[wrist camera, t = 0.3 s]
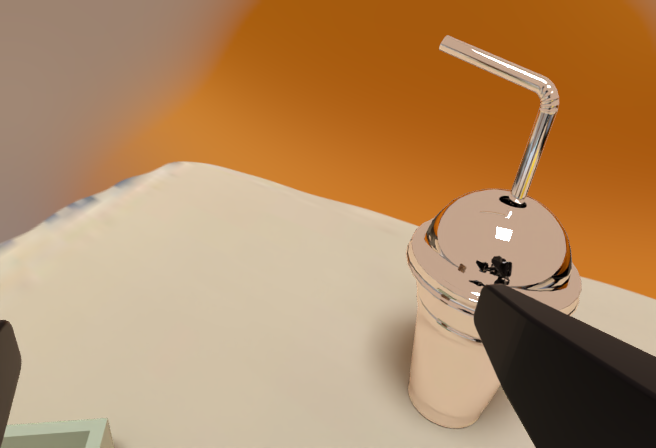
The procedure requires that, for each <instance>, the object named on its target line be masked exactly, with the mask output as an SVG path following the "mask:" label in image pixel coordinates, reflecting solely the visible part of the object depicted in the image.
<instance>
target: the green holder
mask: <svg viewBox="0 0 656 448" xmlns="http://www.w3.org/2000/svg"><path fill="white" fill-rule="evenodd" d="M1 448H114V444H113V439H112V435H111V431H110V426H109V422H108V418H100V419H86V420H72V421H58V422H44V423H30V424H16V425H7V426H6V430H5V434H4V438H3V442H2V445H1Z"/></svg>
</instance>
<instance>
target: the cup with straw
mask: <svg viewBox="0 0 656 448" xmlns="http://www.w3.org/2000/svg"><path fill="white" fill-rule="evenodd" d="M439 49H440V50H441V51H443V52H446V53H448V54H450V55H452V56H455V57H457V58H459V59H461V60H464V61H466V62H468V63H471V64H473V65H475V66H477V67H479V68H482V69H484V70H486V71H489V72H491V73H493V74H495V75H498V76H500V77H502V78H504V79H507V80H509V81H511V82H514V83H516V84H518V85H520V86H523V87H525V88H527V89H529V90H532V91H534V92H536V93H537V94H538V95H539V97H540V100H541V102H540V103H541V105H540V108H539V112H538V115H537V117H536V120H535V123H534V126H533V129H532V132H531V135H530V138H529V140H528V143H527V146H526V149H525V152H524V155H523V158H522V161H521V164H520V166H519V169H518V172H517V175H516V178H515V181H514V184H513V187H512V190H506V189H482V190H478V191H474V192H469V193H466V194H464V195H462V196H460V197H458V198H456V199H454V200H452V201H451V202H450V203H449V204H448V205H447V206H446V207H445V208H444V209H442V210H441V211H440V212H439V214H438V215H437V216H436V217H435V218H434V219H431V220H429V221H427V222H425V223H423V224H422V225H421V226H420V227H418V228H417V229H416V231H415V232H414V234H413V236H412V239H411V240H410V242H409V244H408V245H407V250H406V258H407V264H408V267H409V269H410V271H411V273H412V275H413V276H414V278H415V279H416V285H417V296H416V297H417V302H418V309H417V317H416V325H415V333H414V342H413V350H412V358H411V367H410V381H409V384H408V393H409V397H410V399H411V402H412V403H413V405H414V407H415V408H416V409H417V410H418V411H419V413H421V414H422V415H423V416H424V417H425V418H427V419H428V420H430V421H431V422H433V423H436V424H438V425H440V426H444V427H447V428H464V427H467V426H470V425H471V424H473V423H475V422H476V421H477V420H478V419H479V417H480V415H481V412H482V411H483V410H484V409H485V408H486V406H487V405H488V403H489V402H490V400H491V399H492V397H493V396H494V394H495V393H496V391H497V390H498V388H499V387H500V385H501V384H500V382H499V380H498V378H497V376H496V373H495V371H494V369H493V366H492V364H491V362H490V360H489V357H488V355H487V353H486V350H485V348H484V346H483V344H482V341H481V339H480V337H479V335H478V332H477V330H476V328H475V325H474V312H475V309H476V305H477V302H478V298H479V295H480V292H481V289H482V288H483V287H484V286H485V285H488V284H504V285H506V286H509V287H511V288H513V289H515V290H517V291H519V292H521V293H523V294H525V295H527V296H529V297H532V298H534V299H536V300H538V301H540V302H542V303H544V304H546V305H548V306H550V307H552V308H554V309H557V310H559V311H561V312H563V313H565V314H567V315H569V316H571V315H572V314H573V313H574V312H575V311H576V309H577V307H578V304H579V295H580V293H581V290H582V288H581V279H580V276H579V274H578V271H577V269H576V267H575V266H574V264H573V263H572V258H571V249H570V244H569V239H568V236H567V234H566V232H565V230H564V228H563V226H562V224H561V223H560V221H559V220H558V219H557V218H556V216H555V215H554V214H553V213H552V212H551V211H550V210H549V209H548V208H546V207H545V206H544V205H543V204H541V203H540V202H538V201H536V200H534V199H533V198H531V197H529V196H527V192H528V189H529V187H530V184H531V181H532V179H533V176H534V173H535V170H536V167H537V165H538V162H539V159H540V156H541V154H542V151H543V149H544V146H545V143H546V140H547V138H548V135H549V132H550V129H551V127H552V124H553V121H554V119H555V116H556V113H557V111H558V106H559V96H558V92H557V89H556V87H555V85H554V84H553V83H552V82H551V81H550V79H548V78H547V77H545V76H542V75H540V74H537V73H535V72H533V71H531V70H528V69H526V68H523V67H521V66H519V65H517V64H514V63H512V62H509V61H507V60H505V59H502V58H500V57H498V56H495V55H493V54H491V53H488V52H486V51H484V50H481V49H479V48H476V47H474V46H472V45H469V44H467V43H465V42H462V41H460V40H458V39H455V38H453V37H451V36H448V35H447V36H446V37H445V38H444V39H443V41H442V42H441V45H440V48H439Z"/></svg>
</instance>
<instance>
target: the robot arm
mask: <svg viewBox="0 0 656 448" xmlns="http://www.w3.org/2000/svg"><path fill="white" fill-rule="evenodd" d="M474 325H475V328H476V330H477V332H478V335H479V337H480V339H481V341H482V344H483V346H484V348H485V350H486V353H487V355H488V357H489V360H490V362H491V364H492V366H493V369H494V371H495V373H496V376H497V378H498V380H499V382H500V384H501V386H502V388H503V390H504V392H505V394H506V396H507V398H508V399H509V401H510V403H511V405H512V406H513V408H514V410H515V412H516V414H517V415H518V417H519V419H520V421H521V422H522V424H523V426H524V428H525V430H526V431H527V433H528V435H529V437H530V438H531V440H532V442H533V444H534V445H535V447H536V448H656V357H655V356H653V355H651V354H648V353H646V352H644V351H642V350H640V349H638V348H636V347H634V346H632V345H630V344H628V343H625V342H623V341H621V340H619V339H617V338H615V337H613V336H611V335H609V334H607V333H605V332H602V331H600V330H598V329H596V328H594V327H592V326H590V325H588V324H586V323H584V322H582V321H580V320H577V319H575V318H573V317H571V316H569V315H567V314H565V313H563V312H561V311H559V310H557V309H554V308H552V307H550V306H548V305H546V304H544V303H542V302H540V301H538V300H536V299H534V298H532V297H529V296H527V295H525V294H523V293H521V292H519V291H517V290H515V289H513V288H511V287H509V286H506V285H504V284H488V285H485V286H484V287H483V288H482V289H481V292H480V295H479V298H478V302H477V305H476V309H475V312H474ZM20 370H21V355H20V351H19V348H18V345H17V341H16V338H15V334H14V331H13V328H12V325H11V324H10V322H8V321H6V320H0V448H1V445H2V442H3V438H4V434H5V430H6V426H7V422H8V418H9V414H10V410H11V406H12V402H13V398H14V394H15V390H16V386H17V382H18V379H19V375H20Z"/></svg>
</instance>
